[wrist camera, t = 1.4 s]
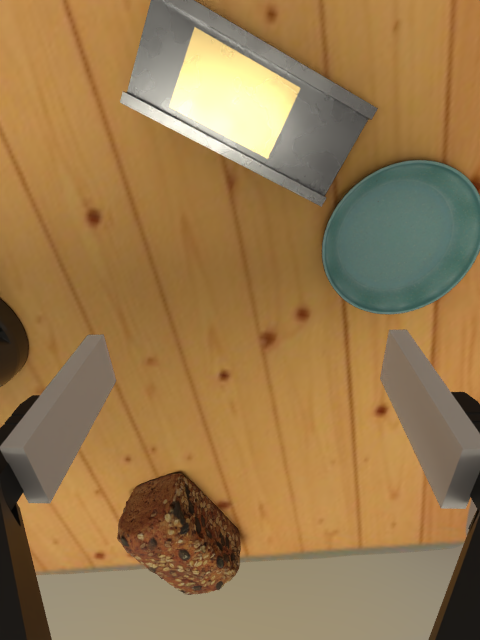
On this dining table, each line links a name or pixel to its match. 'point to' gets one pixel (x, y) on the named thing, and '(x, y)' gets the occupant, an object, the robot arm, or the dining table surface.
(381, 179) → the saucer
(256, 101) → the tan rectangular block
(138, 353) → the dining table surface
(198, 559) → the bread
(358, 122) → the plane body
